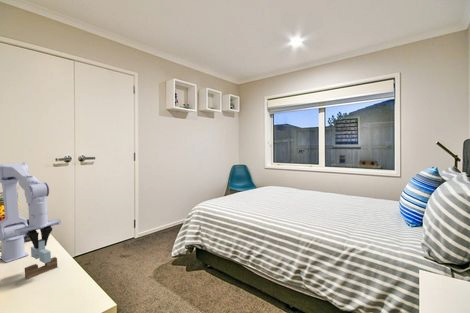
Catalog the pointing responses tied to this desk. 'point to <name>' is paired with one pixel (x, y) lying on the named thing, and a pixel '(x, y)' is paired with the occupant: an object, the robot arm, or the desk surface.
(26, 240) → the pill bottle
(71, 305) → the desk surface
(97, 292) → the desk surface
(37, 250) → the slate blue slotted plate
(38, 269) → the brown notched wooden bar
